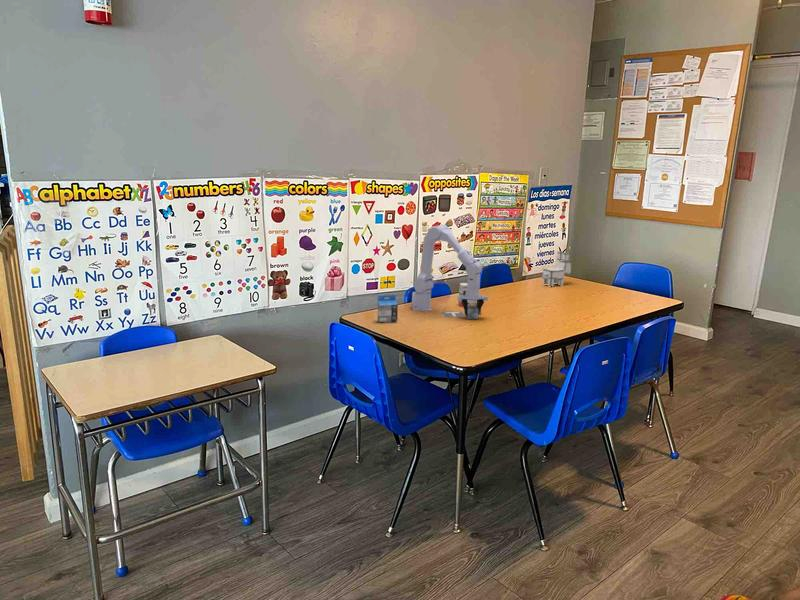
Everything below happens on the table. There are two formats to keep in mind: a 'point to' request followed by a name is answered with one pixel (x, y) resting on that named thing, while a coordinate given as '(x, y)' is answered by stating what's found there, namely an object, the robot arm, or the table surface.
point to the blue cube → (472, 312)
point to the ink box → (464, 292)
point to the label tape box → (387, 308)
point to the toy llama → (557, 270)
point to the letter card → (453, 314)
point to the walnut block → (474, 305)
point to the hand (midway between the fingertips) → (471, 314)
